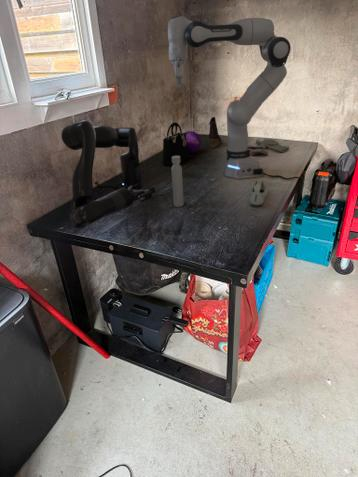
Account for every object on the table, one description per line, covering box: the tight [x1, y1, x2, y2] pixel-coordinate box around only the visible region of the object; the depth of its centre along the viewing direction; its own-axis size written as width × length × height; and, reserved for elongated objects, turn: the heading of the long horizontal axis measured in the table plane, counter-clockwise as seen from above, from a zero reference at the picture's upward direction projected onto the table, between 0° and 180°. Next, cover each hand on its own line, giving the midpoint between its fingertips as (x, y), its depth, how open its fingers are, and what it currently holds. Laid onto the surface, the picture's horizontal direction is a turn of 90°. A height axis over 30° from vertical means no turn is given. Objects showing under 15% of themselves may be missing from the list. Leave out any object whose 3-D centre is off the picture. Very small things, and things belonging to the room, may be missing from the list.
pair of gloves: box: [247, 138, 290, 156], centre depth 228 cm, size 30×26×5 cm
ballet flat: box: [249, 179, 269, 207], centre depth 158 cm, size 8×24×8 cm, turn 163°
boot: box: [208, 116, 222, 149], centre depth 245 cm, size 9×24×20 cm, turn 168°
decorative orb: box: [184, 130, 202, 154], centre depth 230 cm, size 15×15×15 cm
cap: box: [172, 156, 182, 164], centre depth 147 cm, size 4×4×2 cm
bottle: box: [170, 163, 185, 208], centre depth 152 cm, size 5×5×23 cm
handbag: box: [162, 122, 190, 167], centre depth 211 cm, size 21×9×25 cm, turn 148°
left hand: (146, 187), depth 136 cm, fingers open, 8 cm apart
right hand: (179, 86), depth 168 cm, fingers open, 8 cm apart
